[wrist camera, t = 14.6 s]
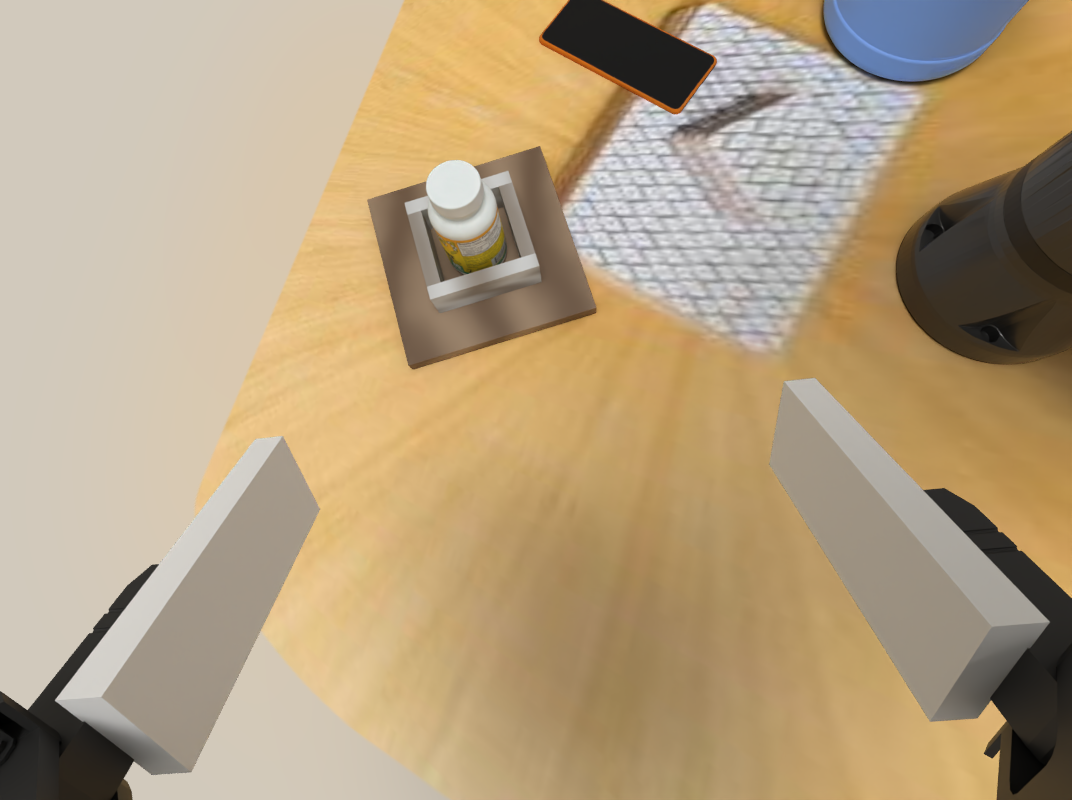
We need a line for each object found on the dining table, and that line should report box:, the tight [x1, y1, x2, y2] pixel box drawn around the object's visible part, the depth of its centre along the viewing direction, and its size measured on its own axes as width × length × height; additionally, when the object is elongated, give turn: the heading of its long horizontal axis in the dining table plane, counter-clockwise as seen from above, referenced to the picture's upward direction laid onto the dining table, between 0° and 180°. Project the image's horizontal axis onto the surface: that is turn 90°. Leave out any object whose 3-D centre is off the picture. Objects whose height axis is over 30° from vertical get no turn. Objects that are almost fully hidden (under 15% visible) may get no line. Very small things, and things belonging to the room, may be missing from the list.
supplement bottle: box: [426, 160, 507, 275], centre depth 40 cm, size 5×5×10 cm
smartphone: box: [539, 0, 717, 114], centre depth 49 cm, size 8×17×1 cm, turn 54°
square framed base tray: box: [367, 146, 596, 369], centre depth 43 cm, size 17×17×4 cm
